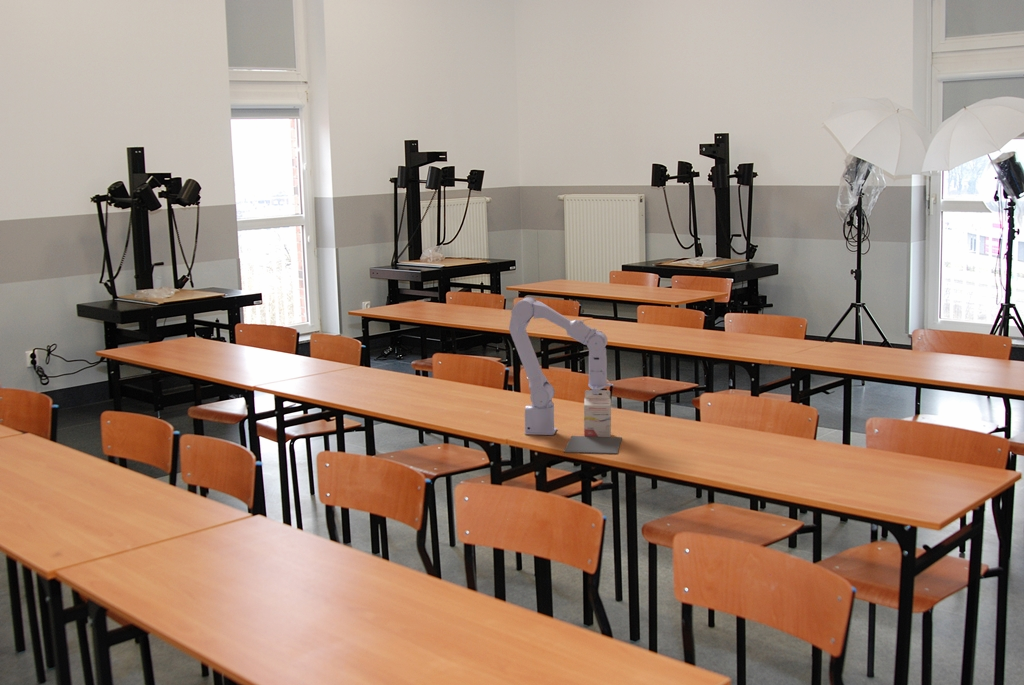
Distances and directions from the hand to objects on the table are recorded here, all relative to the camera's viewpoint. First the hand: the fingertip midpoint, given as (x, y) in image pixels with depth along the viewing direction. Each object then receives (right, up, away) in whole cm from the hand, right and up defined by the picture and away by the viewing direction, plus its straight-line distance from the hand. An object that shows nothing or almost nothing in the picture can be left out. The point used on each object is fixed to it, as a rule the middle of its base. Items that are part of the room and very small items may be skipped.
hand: (598, 411), depth 315 cm
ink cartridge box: (0, -7, 0) cm, 7 cm away
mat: (-2, -10, -12) cm, 15 cm away
